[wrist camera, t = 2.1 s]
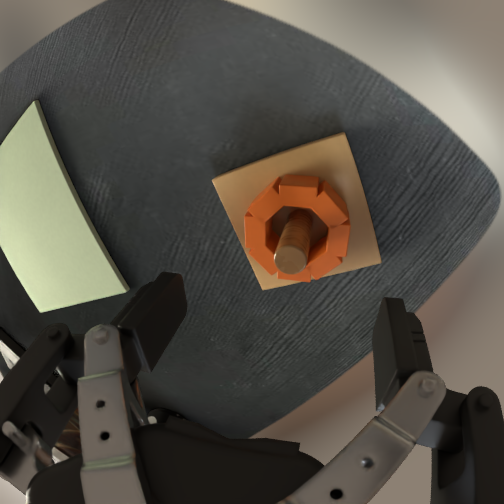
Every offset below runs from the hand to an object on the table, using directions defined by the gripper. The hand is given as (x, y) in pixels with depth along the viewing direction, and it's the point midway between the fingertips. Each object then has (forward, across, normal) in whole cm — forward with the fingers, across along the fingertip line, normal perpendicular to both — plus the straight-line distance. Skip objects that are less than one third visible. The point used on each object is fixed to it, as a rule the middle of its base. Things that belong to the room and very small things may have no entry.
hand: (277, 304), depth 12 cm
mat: (+9, +28, +3) cm, 29 cm away
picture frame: (+10, +53, +39) cm, 67 cm away
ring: (+8, 0, 0) cm, 8 cm away
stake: (+9, 0, 0) cm, 9 cm away
